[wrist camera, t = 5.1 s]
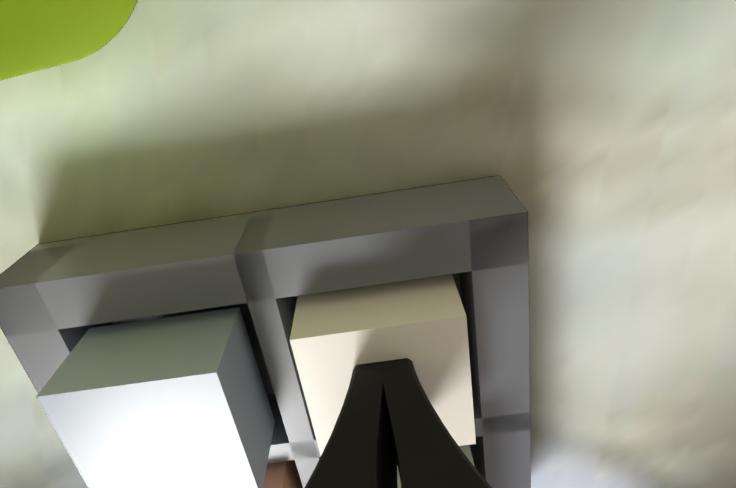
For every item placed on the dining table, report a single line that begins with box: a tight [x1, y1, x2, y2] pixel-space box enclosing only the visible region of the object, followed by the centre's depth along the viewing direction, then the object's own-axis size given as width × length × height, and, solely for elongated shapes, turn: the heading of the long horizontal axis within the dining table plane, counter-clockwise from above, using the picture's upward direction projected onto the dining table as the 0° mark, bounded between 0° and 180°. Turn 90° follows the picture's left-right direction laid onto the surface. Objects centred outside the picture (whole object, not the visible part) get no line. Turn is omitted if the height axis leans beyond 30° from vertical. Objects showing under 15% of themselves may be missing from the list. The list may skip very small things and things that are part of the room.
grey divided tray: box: [0, 176, 531, 488], centre depth 16 cm, size 13×13×2 cm
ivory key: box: [290, 274, 476, 455], centre depth 14 cm, size 4×4×2 cm
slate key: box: [36, 307, 275, 488], centre depth 13 cm, size 4×4×2 cm
